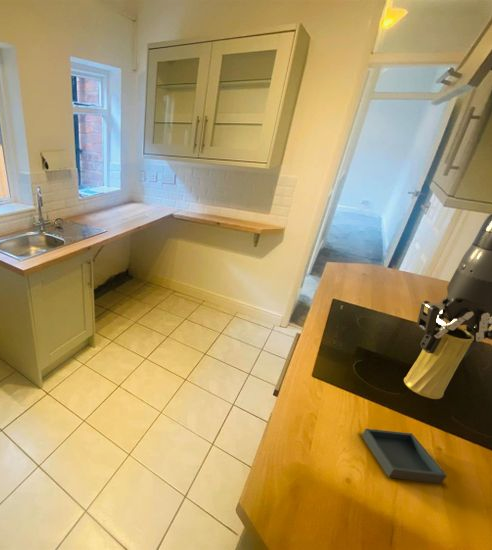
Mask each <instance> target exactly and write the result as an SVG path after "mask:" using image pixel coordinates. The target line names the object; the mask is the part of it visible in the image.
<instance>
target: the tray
mask: <svg viewBox="0 0 492 550" xmlns="http://www.w3.org/2000/svg"><path fill="white" fill-rule="evenodd" d="M361 437H362V439H363V440H364V442H365V444H366V445H367V446H368V448H369V449H370V451H371V453H372V455H373V456H374V457H375V458H376V460H377V462H378V463H379V465H380V467H381V468H382V470H383V472H385V474H386V476H387V477H388V478H390V479H398V480H399V479H400V480H406V481H407V480H409V481H417V482H424V483H425V482H427V483H432V484H433V483H435V484H442V483H443V482H444V481H445V480H446V478H447V477H448V475H447V474H446V473H445V471H444V470H443V469H442V467H440V465H439V464H438V463H437V462H436V461H435V459H434V458H433V456H431V455H430V453H429V452H428V451H427V449H425V448H424V446H423V445H422V443H421V442H420V441H419V440H418V439H417V438H416V436H415V435H414V434H413V433H412V432H410V433H409V432H404V431H403V432H401V431H393V430H392V431H391V430H384V429H383V430H381V429H373V428H364V430H363V432H362V434H361Z"/></svg>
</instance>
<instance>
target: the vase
mask: <svg viewBox="0 0 492 550" xmlns="http://www.w3.org/2000/svg"><path fill="white" fill-rule="evenodd" d="M441 327H442V326H441V325H439V326H438V327H437V328H436V330H438V329H440V328H441ZM464 329H465V328H462V327H459V326H458V327H457V328H456V329H455V330H453V331H448V332H447V333H446V334H445V335H444V336H442V337H441V341H440V342H439V344H438V346H437V348H436V349H435V351H434V353H427V352H426V351H424V350H423V349H422V348H421V349H422V350H421V352H420V353H419V355H418V356H417V359H416V360H415V361H414V363H413V365H412V366H411V368H410V369H409V371H408V373H407V374H406V376H405V377H404V378H403V383H404V385H405V386H406V387H407V388H408V389H409V390H411V391H412V392H414V393H415V394H417V395H419V396H422V397H424V398H428V399H432V400H439V399H442V398H443V397H444V394H445V391H446V390H447V387H448V385H449V383H450V382H451V380H452V378H453V376H454V374H455V372H456V370H457V369H458V367H459V365H460V364H461V362H462V360H463V358H464V357H465V356H464V355H465V353H466V352H467V350H468V349H469V346H470V344H471V343H472V341H473V340H474V336H473V335H472V334H471V333H470V332H468V331H466V330H464Z"/></svg>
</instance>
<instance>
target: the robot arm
mask: <svg viewBox="0 0 492 550" xmlns="http://www.w3.org/2000/svg"><path fill="white" fill-rule="evenodd" d="M446 291H447V295H446V297H444V298H442V300H441V301H440V302H430V301H429V300H423V301H422V303H421V304H420V309H419V312H418V313H419V314H418V318H417V322H416V327H417V328H418V329H419V330H420V331H423V333H425V334H424V336H423V337H422V339H421V341H420V343H419V345H420V348H421V349H423V350H424V351H426V352H427V353H434V351H435V349H436V348H437V346H438V344H439V342H440V341H441V337H442V336H444V335H445V334H446V333H447V332H448V331H453V330H455V329H456V328H457V327H459V326H464V328H463V329H464V330H466V331H468V332H470V333H471V334H472V335H473V336H474V340H473V341H472V343H471V344H470V346H469V349H468V350H467V352H466V353H465V355H464V357H468V356H469V355H470V354H471V353H472V352H473V350H474V349H475V347H476V346H477V344H478V343H479V342H482V341H483V340H484V339H488V340H491V341H492V329H490V330H489V328H490V327H492V212H491V213H490V214H488V215H487V216H486V218H485V219H484V220H483V222H482V224H481V226H480V228H479V229H478V232H477V233H476V235H475V237H474V239H473V240H472V243H471V244H470V246H469V247H468V249H467V250H466V251H465V252H464V254H463V256H462V257H461V259H460V261H459V263H458V266H457V268H456V269H455V271H454V273H453V275H452V277H451V279H450V281H449V282H448V285H447V286H446ZM445 320H447V321H445ZM439 325H441V326H442V327H441V328H440V329H438V330H436V328H437V327H438V326H439Z"/></svg>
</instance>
